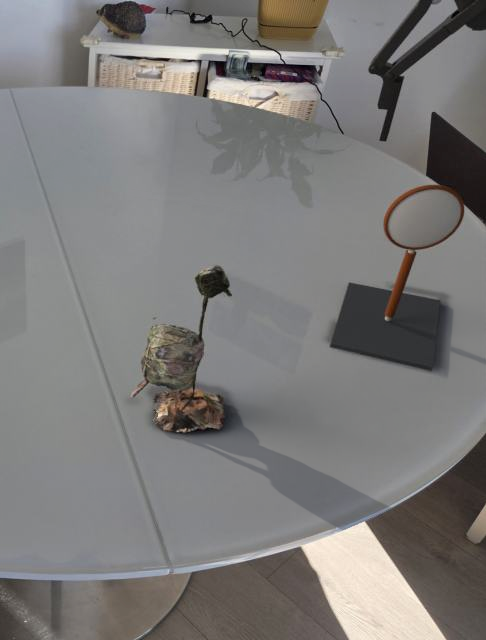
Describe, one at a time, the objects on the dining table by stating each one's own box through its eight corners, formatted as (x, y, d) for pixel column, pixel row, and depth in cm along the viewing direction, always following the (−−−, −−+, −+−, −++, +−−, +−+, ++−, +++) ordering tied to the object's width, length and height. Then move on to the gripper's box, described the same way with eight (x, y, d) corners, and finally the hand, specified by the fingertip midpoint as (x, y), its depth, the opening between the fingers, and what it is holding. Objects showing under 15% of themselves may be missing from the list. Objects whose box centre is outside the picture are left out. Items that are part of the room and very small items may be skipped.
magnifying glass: (354, 323, 88) (396, 188, 75) (352, 315, 89) (392, 181, 76) (423, 326, 86) (477, 188, 74) (419, 318, 87) (472, 182, 75)
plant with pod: (142, 380, 83) (149, 246, 70) (232, 400, 79) (256, 261, 66) (124, 423, 77) (127, 284, 65) (219, 447, 73) (243, 304, 61)
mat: (439, 303, 91) (440, 300, 90) (431, 371, 80) (433, 367, 80) (348, 285, 96) (348, 282, 95) (329, 346, 85) (330, 343, 85)
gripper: (373, -71, 61) (326, 143, 75) (716, -80, 51) (591, 171, 64) (382, -82, 66) (337, 121, 80) (697, -92, 56) (584, 144, 69)
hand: (450, 144), depth 72 cm, fingers open, 13 cm apart
